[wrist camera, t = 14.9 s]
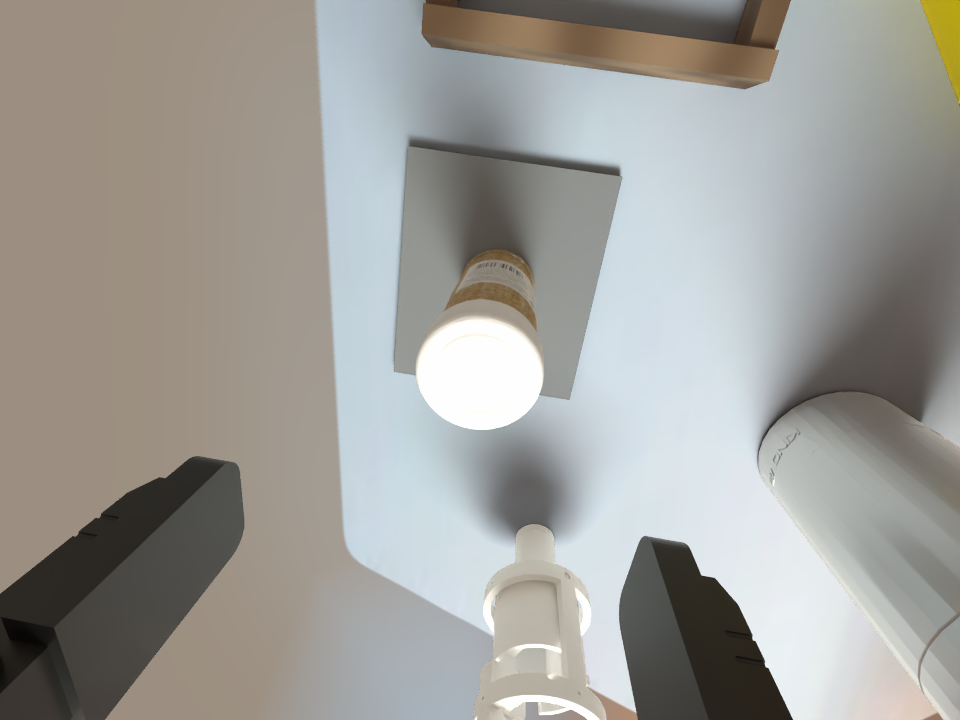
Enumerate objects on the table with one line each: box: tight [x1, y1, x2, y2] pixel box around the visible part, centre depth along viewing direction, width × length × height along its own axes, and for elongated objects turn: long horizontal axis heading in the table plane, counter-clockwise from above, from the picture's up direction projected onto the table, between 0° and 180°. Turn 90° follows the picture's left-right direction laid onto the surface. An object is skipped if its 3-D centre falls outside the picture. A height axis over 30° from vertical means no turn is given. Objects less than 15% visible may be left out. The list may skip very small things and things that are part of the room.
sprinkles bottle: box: [416, 249, 544, 430], centre depth 22 cm, size 5×5×14 cm
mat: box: [394, 146, 622, 400], centre depth 28 cm, size 12×14×1 cm
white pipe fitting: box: [473, 524, 606, 720], centre depth 29 cm, size 7×7×15 cm
